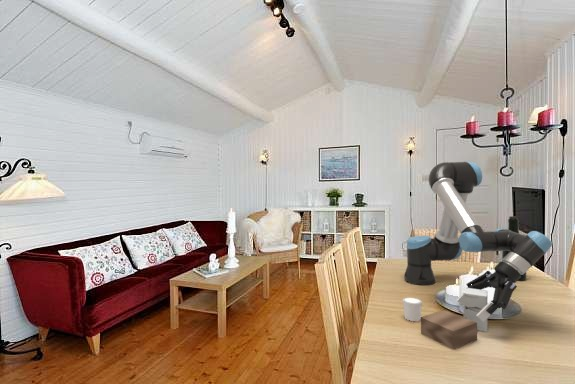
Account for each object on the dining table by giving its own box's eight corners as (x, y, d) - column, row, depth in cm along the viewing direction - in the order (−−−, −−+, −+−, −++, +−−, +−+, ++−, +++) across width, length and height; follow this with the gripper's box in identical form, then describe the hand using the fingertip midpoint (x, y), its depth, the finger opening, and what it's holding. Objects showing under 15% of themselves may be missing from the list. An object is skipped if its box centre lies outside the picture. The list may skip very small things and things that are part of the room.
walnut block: (421, 334, 106) (420, 317, 106) (444, 326, 112) (443, 310, 112) (453, 350, 96) (453, 331, 95) (477, 340, 101) (477, 322, 101)
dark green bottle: (531, 281, 158) (530, 217, 157) (508, 281, 160) (507, 217, 159) (519, 275, 168) (518, 215, 168) (498, 275, 170) (497, 215, 169)
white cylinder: (421, 315, 121) (421, 297, 121) (423, 323, 114) (422, 304, 114) (402, 313, 123) (402, 296, 123) (403, 321, 116) (402, 302, 116)
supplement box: (462, 328, 110) (462, 292, 109) (464, 320, 116) (464, 286, 116) (487, 333, 106) (487, 296, 105) (488, 324, 112) (487, 289, 112)
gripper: (547, 286, 97) (498, 334, 98) (497, 266, 122) (458, 304, 123) (529, 270, 97) (481, 317, 98) (483, 253, 122) (445, 291, 123)
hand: (468, 310), depth 111 cm, fingers open, 13 cm apart
